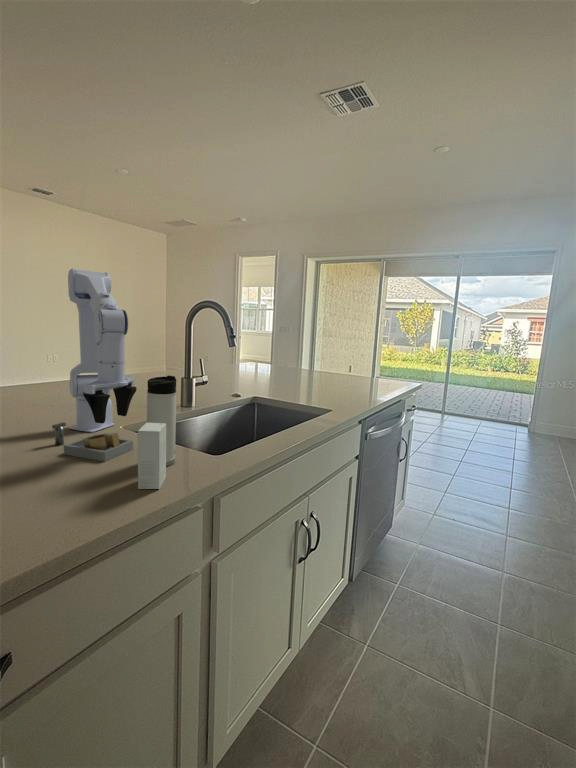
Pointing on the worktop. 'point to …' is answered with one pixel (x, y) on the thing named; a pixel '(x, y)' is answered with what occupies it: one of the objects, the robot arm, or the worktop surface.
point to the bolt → (59, 433)
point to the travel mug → (163, 410)
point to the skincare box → (151, 455)
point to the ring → (101, 441)
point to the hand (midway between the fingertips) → (111, 419)
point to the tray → (101, 454)
